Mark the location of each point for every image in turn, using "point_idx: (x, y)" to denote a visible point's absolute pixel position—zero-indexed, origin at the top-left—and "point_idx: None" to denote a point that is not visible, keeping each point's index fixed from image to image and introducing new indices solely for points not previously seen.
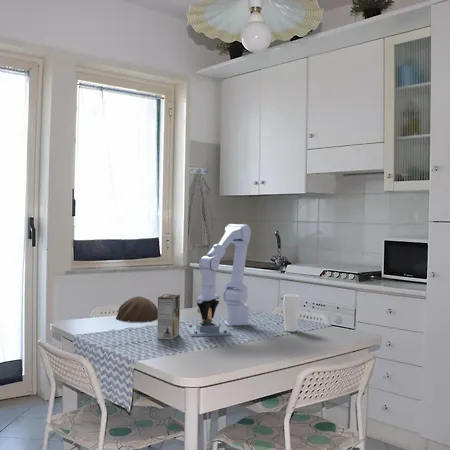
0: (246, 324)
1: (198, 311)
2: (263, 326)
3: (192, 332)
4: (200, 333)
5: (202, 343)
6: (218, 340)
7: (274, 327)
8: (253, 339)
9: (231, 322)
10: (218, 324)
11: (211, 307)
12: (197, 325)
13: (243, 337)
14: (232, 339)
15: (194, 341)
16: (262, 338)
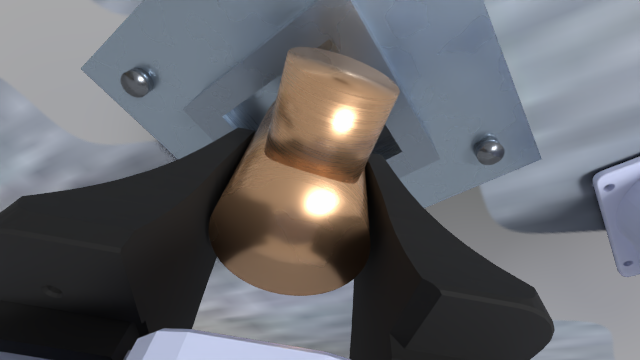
0: (617, 268)
1: (283, 73)
2: (589, 323)
3: (129, 49)
4: (150, 122)
5: (28, 189)
6: None
7: (563, 353)
8: (269, 326)
9: (634, 202)
10: (494, 152)
11: (333, 288)
12: (277, 32)
13: (282, 297)
14: (214, 273)
15: (16, 136)
16: (306, 344)
